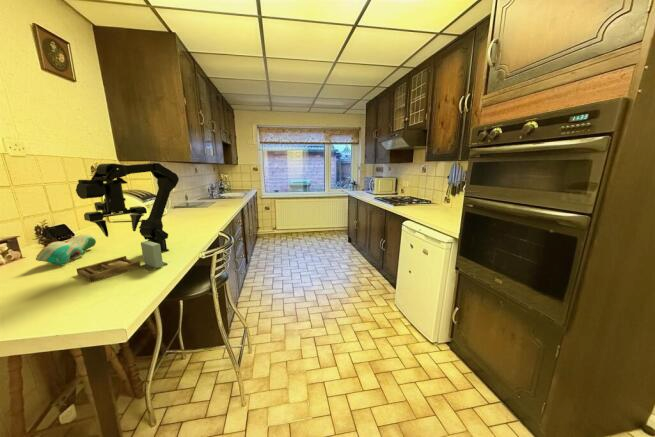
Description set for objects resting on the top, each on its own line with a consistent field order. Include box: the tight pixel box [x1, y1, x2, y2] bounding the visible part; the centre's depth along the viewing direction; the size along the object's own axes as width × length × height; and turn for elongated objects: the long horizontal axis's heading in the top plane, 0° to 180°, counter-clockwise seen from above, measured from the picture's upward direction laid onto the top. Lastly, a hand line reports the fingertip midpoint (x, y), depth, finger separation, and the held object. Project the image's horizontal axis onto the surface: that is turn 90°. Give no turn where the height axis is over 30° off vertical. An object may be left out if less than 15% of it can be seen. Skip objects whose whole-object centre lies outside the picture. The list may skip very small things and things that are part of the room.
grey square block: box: [140, 240, 164, 269], centre depth 99 cm, size 3×9×9 cm, turn 60°
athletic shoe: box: [35, 234, 97, 266], centre depth 110 cm, size 27×9×12 cm
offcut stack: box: [108, 261, 129, 268], centre depth 98 cm, size 5×8×2 cm, turn 60°
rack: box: [76, 255, 141, 283], centre depth 95 cm, size 15×12×2 cm
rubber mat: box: [139, 261, 168, 271], centre depth 100 cm, size 7×7×1 cm
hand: (121, 233), depth 101 cm, fingers open, 9 cm apart
